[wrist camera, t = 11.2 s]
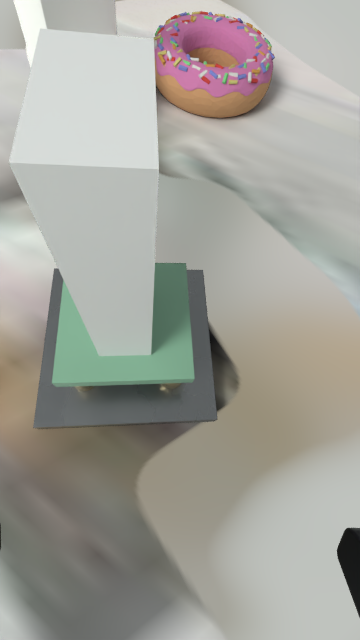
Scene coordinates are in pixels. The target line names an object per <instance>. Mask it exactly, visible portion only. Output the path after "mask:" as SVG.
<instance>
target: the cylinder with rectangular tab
mask: <svg viewBox="0 0 360 640" xmlns="http://www.w3.org/2000/svg"><path fill="white" fill-rule="evenodd" d="M14 3H15V7H16V10H17V14H18V17H19V20H20V24H21V28H22V31H23V34H24V38H25V41H26V49H25V50H26V53H27V57H28V60H29V63H30V67H31V66H32V61H33V57H34V53H35V49H36V44H37V40H38V36H39V32H40V29H51V30H63V31H74V32H85V33H96V34H107V35H117V25H116V10H115V0H14Z"/></svg>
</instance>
